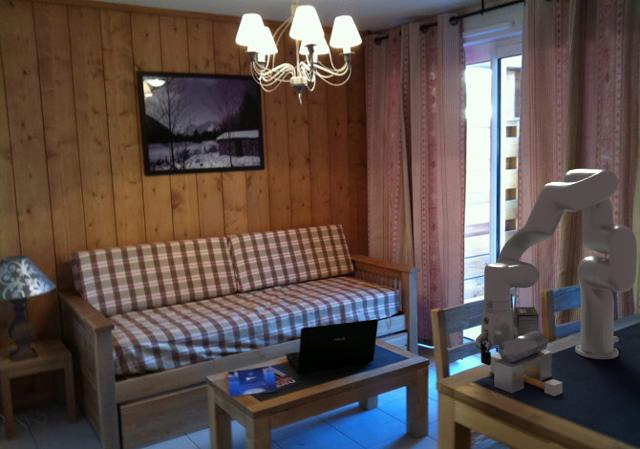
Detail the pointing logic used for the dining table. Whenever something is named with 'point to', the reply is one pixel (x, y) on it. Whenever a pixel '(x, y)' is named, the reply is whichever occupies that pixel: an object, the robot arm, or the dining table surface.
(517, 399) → the dining table surface
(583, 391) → the dining table surface
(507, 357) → the cylinder
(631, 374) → the dining table surface
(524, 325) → the coffee box
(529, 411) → the dining table surface
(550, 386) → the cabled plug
